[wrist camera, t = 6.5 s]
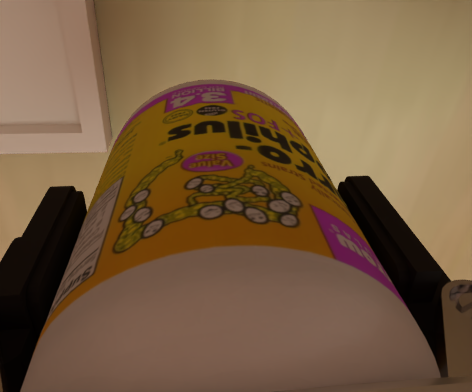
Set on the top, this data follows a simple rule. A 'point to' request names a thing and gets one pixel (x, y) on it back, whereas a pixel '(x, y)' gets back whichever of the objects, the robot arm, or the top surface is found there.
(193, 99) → the supplement bottle
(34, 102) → the ceramic tray
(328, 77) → the top surface
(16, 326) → the robot arm
